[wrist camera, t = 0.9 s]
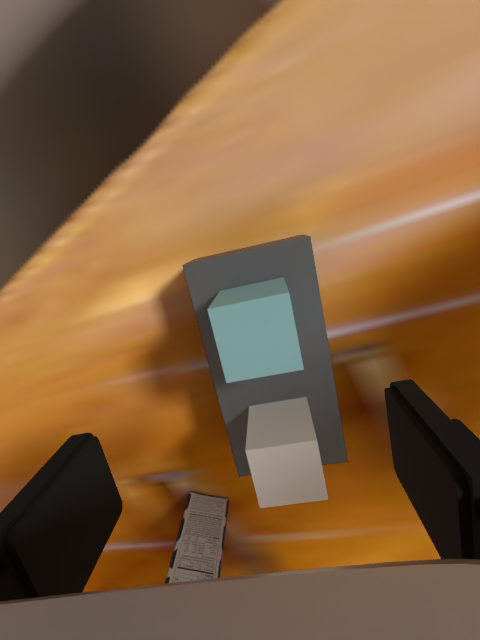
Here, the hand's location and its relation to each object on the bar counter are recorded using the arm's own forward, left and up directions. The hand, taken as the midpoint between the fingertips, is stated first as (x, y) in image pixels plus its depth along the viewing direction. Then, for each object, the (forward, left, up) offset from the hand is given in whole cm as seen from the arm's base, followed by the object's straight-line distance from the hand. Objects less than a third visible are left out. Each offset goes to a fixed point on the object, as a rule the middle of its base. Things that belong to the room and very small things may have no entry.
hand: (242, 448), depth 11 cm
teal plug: (0, 0, -22) cm, 22 cm away
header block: (0, +5, -22) cm, 23 cm away
